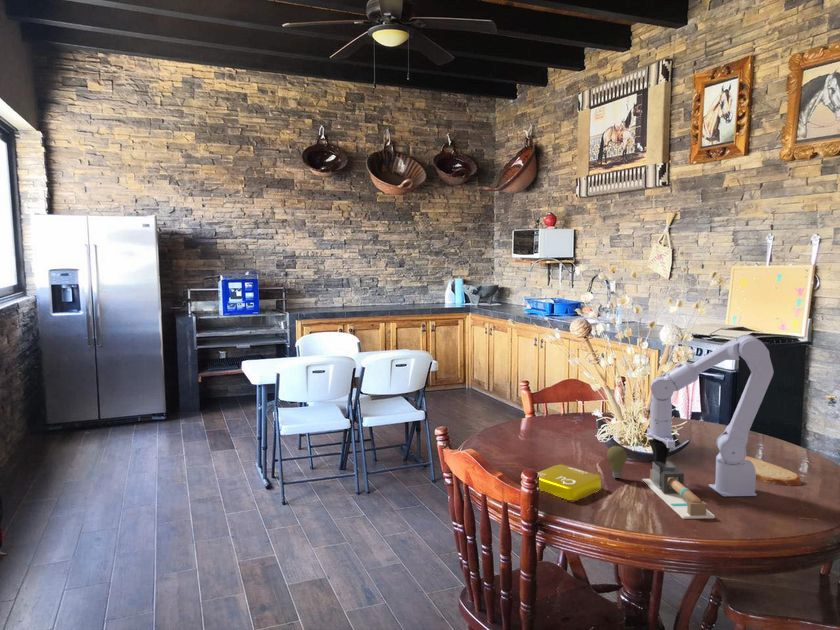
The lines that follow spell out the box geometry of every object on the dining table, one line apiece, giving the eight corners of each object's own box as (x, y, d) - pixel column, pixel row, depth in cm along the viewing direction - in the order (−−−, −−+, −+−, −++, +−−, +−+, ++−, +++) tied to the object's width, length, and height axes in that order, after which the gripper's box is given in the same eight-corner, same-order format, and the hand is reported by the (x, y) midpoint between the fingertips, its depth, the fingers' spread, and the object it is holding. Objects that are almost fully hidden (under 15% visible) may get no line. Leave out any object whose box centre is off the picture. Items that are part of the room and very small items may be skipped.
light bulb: (602, 476, 177) (603, 444, 176) (617, 474, 179) (618, 442, 178) (615, 483, 171) (615, 449, 171) (630, 480, 173) (631, 447, 173)
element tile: (603, 490, 167) (603, 474, 167) (573, 505, 157) (573, 488, 157) (559, 476, 178) (559, 461, 178) (528, 489, 169) (528, 473, 168)
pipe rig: (642, 480, 173) (642, 464, 173) (669, 480, 173) (669, 464, 173) (683, 518, 147) (683, 499, 147) (714, 518, 147) (715, 499, 147)
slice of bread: (806, 487, 167) (806, 475, 167) (737, 483, 171) (737, 471, 171) (781, 466, 185) (781, 455, 184) (719, 463, 189) (719, 451, 188)
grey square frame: (661, 491, 163) (662, 472, 162) (681, 490, 163) (681, 471, 162) (663, 493, 161) (664, 474, 161) (683, 492, 161) (683, 473, 161)
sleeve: (652, 481, 170) (652, 461, 169) (669, 481, 170) (670, 461, 169) (659, 488, 165) (659, 467, 164) (677, 488, 165) (678, 467, 164)
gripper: (637, 412, 176) (636, 456, 177) (657, 426, 162) (656, 473, 163) (660, 412, 176) (659, 456, 178) (682, 425, 162) (681, 473, 163)
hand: (659, 464), depth 170 cm, fingers closed
